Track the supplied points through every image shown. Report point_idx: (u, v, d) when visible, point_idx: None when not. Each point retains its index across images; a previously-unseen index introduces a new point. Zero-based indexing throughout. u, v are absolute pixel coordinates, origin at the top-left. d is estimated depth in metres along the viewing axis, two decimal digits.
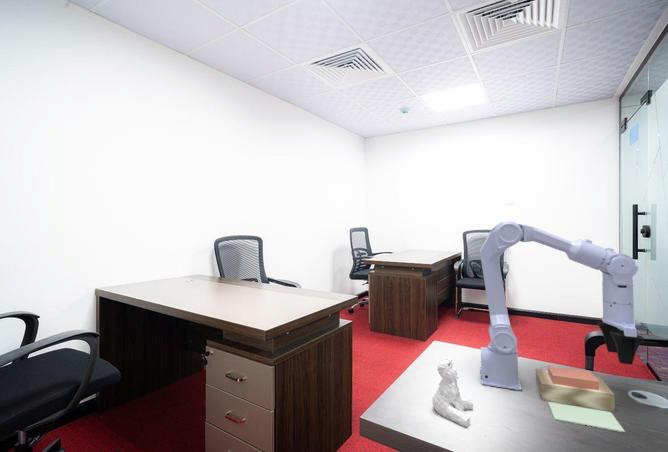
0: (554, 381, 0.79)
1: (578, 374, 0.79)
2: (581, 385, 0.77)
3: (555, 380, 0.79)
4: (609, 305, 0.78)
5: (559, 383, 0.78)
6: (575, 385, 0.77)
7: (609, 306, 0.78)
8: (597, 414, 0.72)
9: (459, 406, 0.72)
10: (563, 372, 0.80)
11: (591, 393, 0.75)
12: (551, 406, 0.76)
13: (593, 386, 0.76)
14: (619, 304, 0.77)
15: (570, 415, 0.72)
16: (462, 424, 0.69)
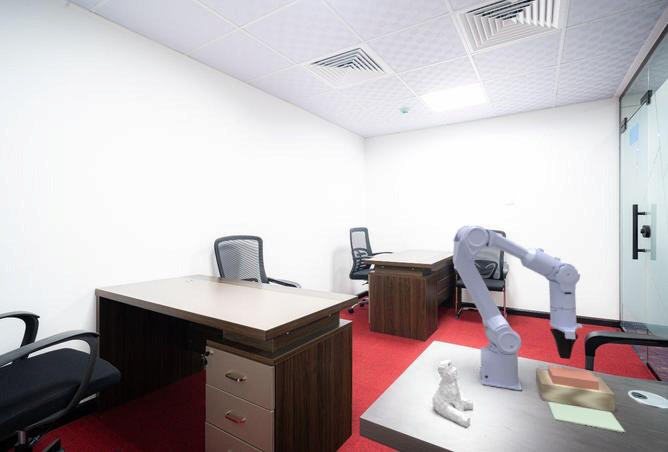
0: (554, 381, 0.79)
1: (578, 374, 0.79)
2: (581, 385, 0.77)
3: (555, 380, 0.79)
4: (554, 310, 0.86)
5: (559, 383, 0.78)
6: (575, 385, 0.77)
7: (554, 311, 0.86)
8: (597, 414, 0.72)
9: (459, 406, 0.72)
10: (563, 372, 0.80)
11: (591, 393, 0.75)
12: (551, 406, 0.76)
13: (593, 386, 0.76)
14: (562, 309, 0.85)
15: (570, 415, 0.72)
16: (462, 424, 0.69)
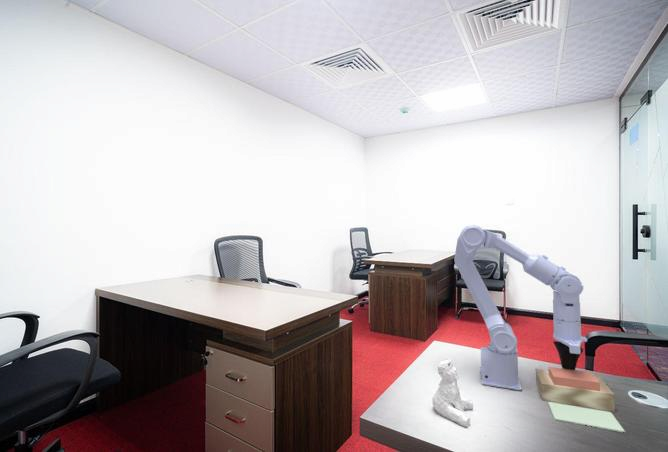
0: (555, 382, 0.78)
1: (579, 375, 0.79)
2: (582, 386, 0.76)
3: (556, 381, 0.78)
4: (558, 322, 0.82)
5: (560, 384, 0.78)
6: (576, 386, 0.76)
7: (558, 323, 0.82)
8: (597, 414, 0.72)
9: (459, 406, 0.72)
10: (564, 373, 0.80)
11: (591, 393, 0.75)
12: (551, 406, 0.76)
13: (594, 387, 0.75)
14: (567, 322, 0.81)
15: (570, 415, 0.72)
16: (462, 424, 0.69)
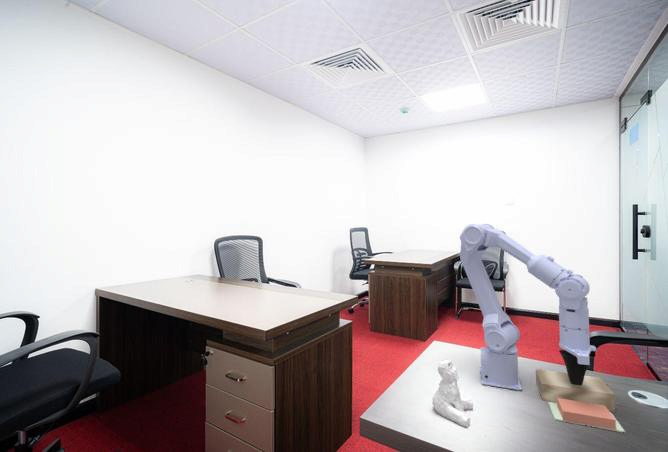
0: None
1: None
2: None
3: None
4: (565, 330, 0.76)
5: None
6: None
7: (565, 331, 0.76)
8: None
9: (459, 406, 0.72)
10: None
11: (591, 393, 0.75)
12: (551, 406, 0.76)
13: None
14: (574, 329, 0.75)
15: None
16: (462, 424, 0.69)
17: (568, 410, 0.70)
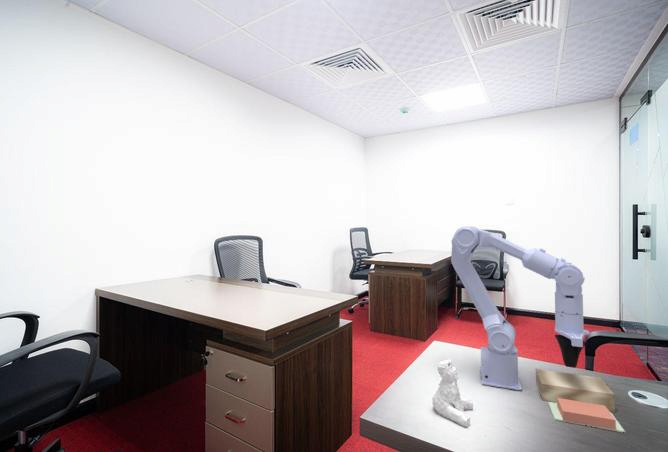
0: None
1: None
2: None
3: None
4: (560, 315, 0.80)
5: None
6: None
7: (560, 316, 0.80)
8: None
9: (459, 406, 0.72)
10: None
11: (591, 393, 0.75)
12: (551, 406, 0.76)
13: None
14: (569, 314, 0.79)
15: None
16: (462, 424, 0.69)
17: (568, 410, 0.70)
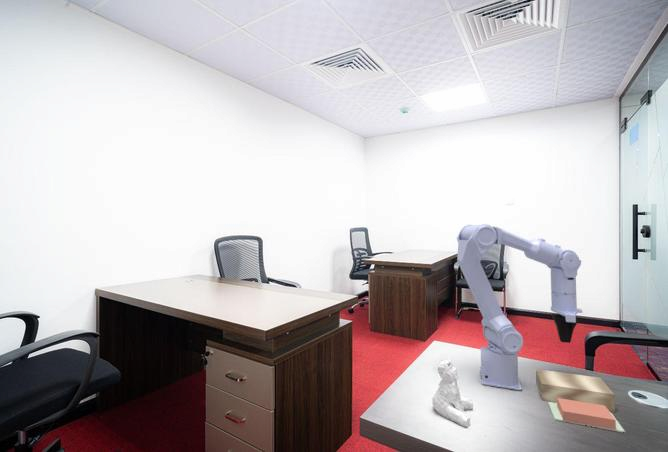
0: None
1: None
2: None
3: None
4: (555, 295, 0.89)
5: None
6: None
7: (555, 296, 0.89)
8: None
9: (459, 406, 0.72)
10: None
11: (591, 393, 0.75)
12: (551, 406, 0.76)
13: None
14: (563, 294, 0.87)
15: None
16: (462, 424, 0.69)
17: (568, 410, 0.70)
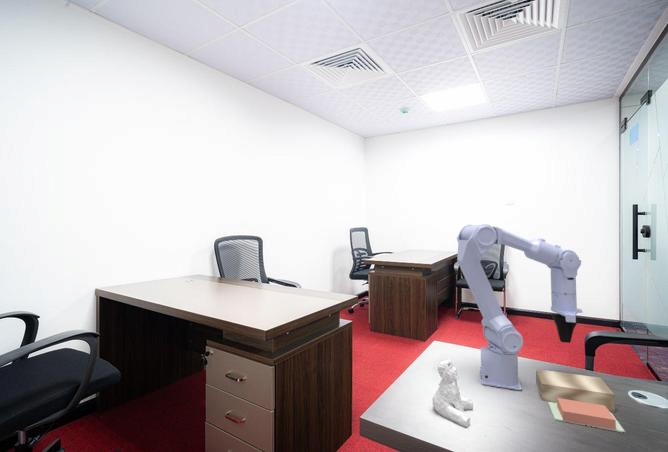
0: None
1: None
2: None
3: None
4: (555, 295, 0.89)
5: None
6: None
7: (555, 296, 0.89)
8: None
9: (459, 406, 0.72)
10: None
11: (591, 393, 0.75)
12: (551, 406, 0.76)
13: None
14: (563, 294, 0.87)
15: None
16: (462, 424, 0.69)
17: (568, 410, 0.70)
